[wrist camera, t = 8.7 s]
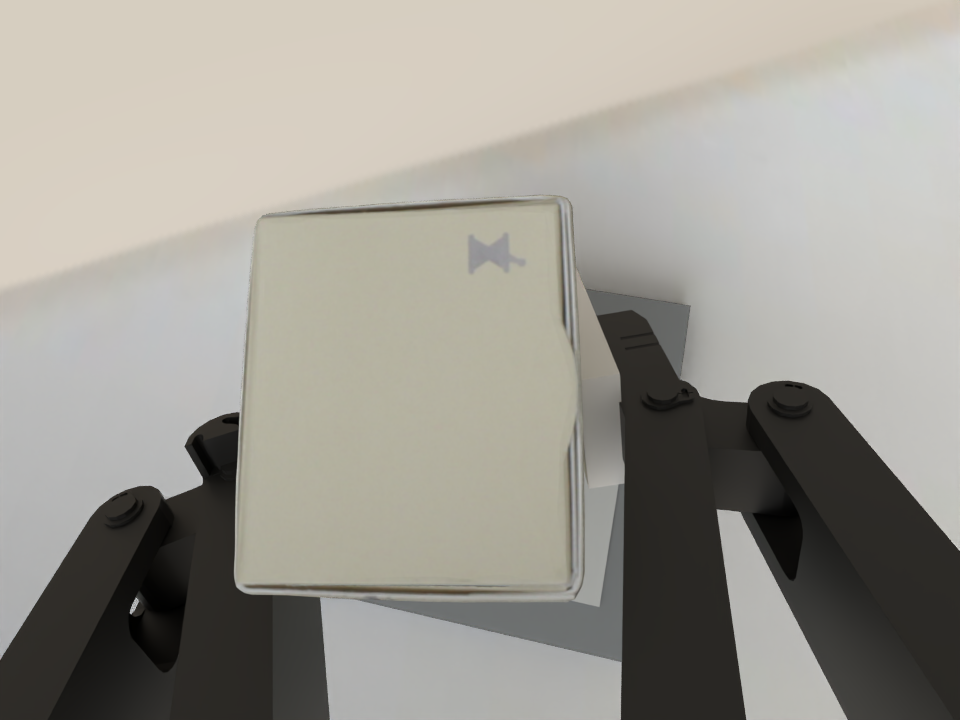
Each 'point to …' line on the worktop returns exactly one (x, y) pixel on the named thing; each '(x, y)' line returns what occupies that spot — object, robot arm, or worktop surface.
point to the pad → (600, 599)
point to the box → (413, 404)
